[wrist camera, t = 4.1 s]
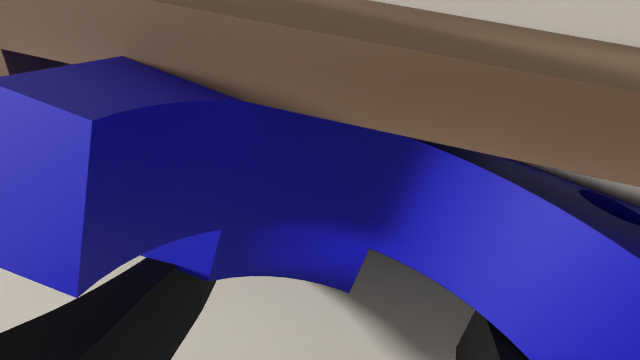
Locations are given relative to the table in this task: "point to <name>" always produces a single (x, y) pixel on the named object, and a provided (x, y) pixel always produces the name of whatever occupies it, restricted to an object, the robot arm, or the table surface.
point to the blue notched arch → (302, 205)
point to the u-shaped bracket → (366, 70)
